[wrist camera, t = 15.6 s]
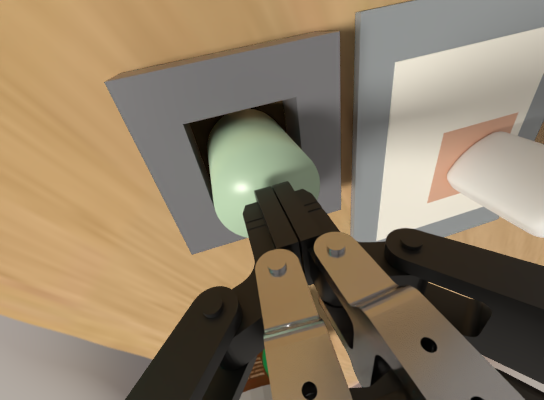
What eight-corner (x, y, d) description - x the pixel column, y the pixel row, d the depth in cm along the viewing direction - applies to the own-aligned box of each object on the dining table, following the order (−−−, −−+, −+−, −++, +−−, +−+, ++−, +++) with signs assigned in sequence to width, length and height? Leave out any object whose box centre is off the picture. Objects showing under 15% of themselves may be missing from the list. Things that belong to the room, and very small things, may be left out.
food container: (303, 337, 34) (338, 434, 25) (259, 355, 33) (280, 459, 25) (283, 282, 26) (324, 393, 18) (227, 304, 26) (242, 427, 18)
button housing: (120, 73, 13) (104, 81, 11) (315, 31, 15) (339, 31, 12) (192, 227, 20) (191, 254, 17) (323, 188, 21) (340, 209, 19)
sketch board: (355, 12, 15) (362, 11, 14) (606, -40, 17) (621, -43, 16) (349, 263, 27) (353, 268, 27) (492, 215, 29) (499, 219, 29)
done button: (195, 119, 15) (197, 162, 10) (277, 100, 15) (316, 131, 10) (220, 190, 18) (230, 250, 13) (288, 171, 18) (322, 222, 13)
